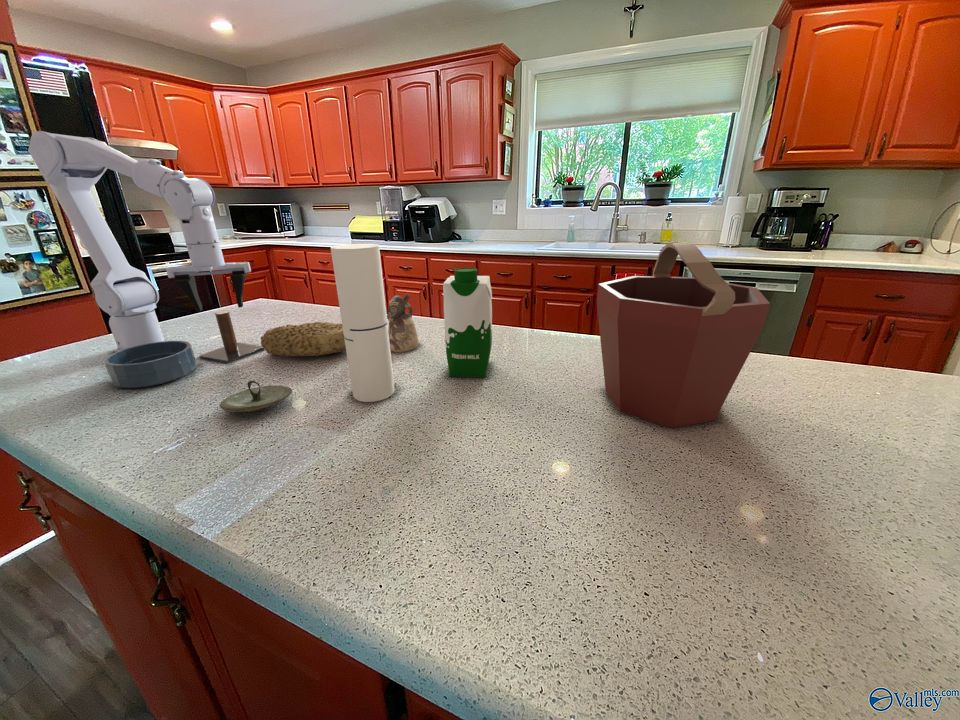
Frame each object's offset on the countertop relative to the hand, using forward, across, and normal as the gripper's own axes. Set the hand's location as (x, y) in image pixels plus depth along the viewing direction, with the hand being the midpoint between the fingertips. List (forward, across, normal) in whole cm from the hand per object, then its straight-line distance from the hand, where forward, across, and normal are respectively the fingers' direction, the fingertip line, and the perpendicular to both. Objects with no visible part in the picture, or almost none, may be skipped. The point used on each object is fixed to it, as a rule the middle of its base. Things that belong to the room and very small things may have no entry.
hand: (220, 308), depth 85 cm
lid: (+11, +8, -30) cm, 33 cm away
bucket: (+10, +69, -56) cm, 89 cm away
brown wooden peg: (+10, 0, 0) cm, 10 cm away
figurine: (+11, +36, -12) cm, 39 cm away
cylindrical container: (+11, +26, -33) cm, 44 cm away
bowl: (+10, -12, -8) cm, 18 cm away
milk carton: (+11, +45, -31) cm, 56 cm away
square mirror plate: (+10, 0, 0) cm, 10 cm away
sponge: (+11, +18, -8) cm, 22 cm away
